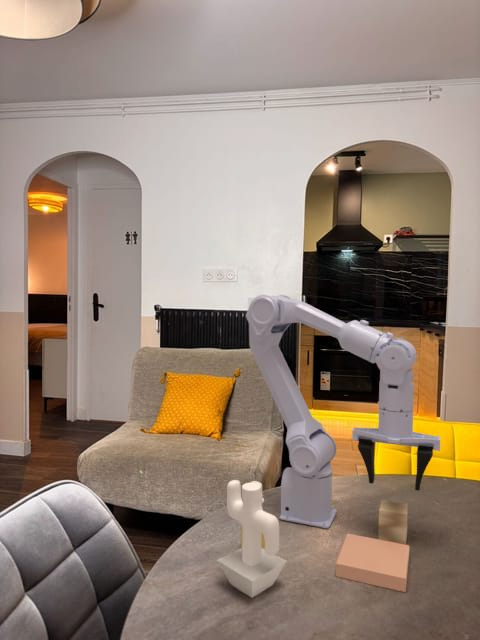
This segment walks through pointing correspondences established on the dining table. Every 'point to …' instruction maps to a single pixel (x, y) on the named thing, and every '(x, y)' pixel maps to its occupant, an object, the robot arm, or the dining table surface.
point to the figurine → (252, 541)
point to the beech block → (393, 522)
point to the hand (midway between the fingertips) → (394, 484)
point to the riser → (374, 562)
